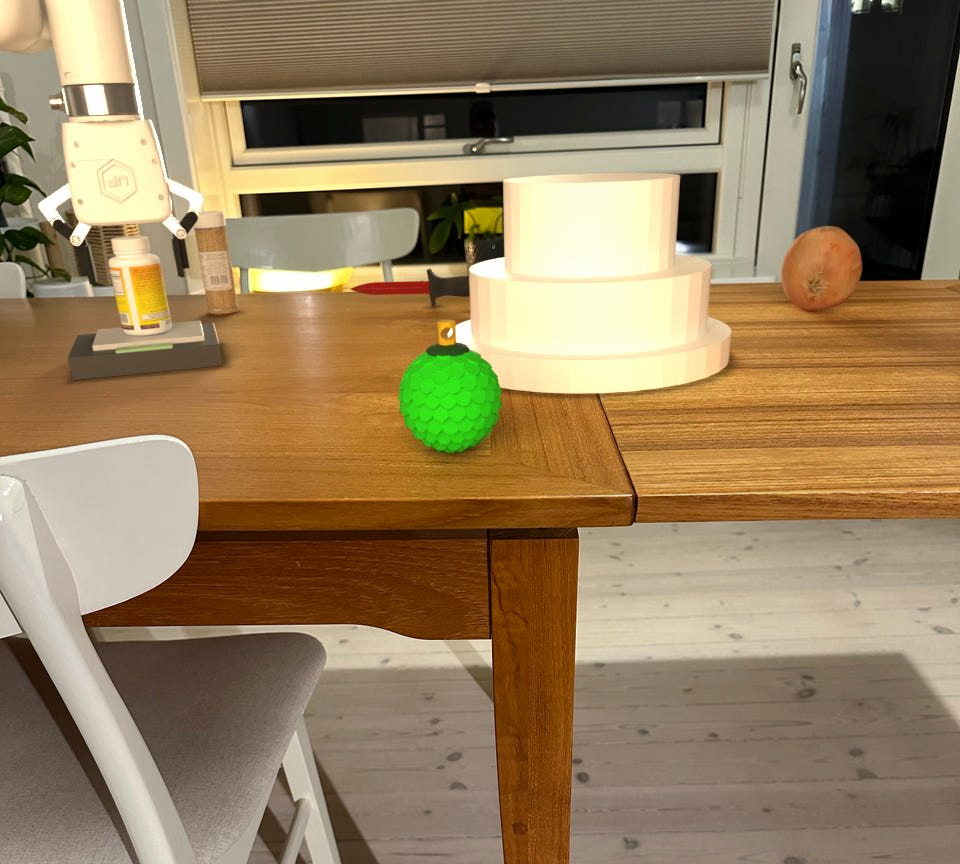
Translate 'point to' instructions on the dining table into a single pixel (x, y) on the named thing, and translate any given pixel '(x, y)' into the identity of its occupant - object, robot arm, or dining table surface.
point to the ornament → (450, 395)
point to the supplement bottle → (139, 287)
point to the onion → (821, 268)
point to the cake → (593, 289)
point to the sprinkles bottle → (215, 262)
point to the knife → (420, 287)
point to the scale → (144, 351)
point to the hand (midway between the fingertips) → (138, 279)
